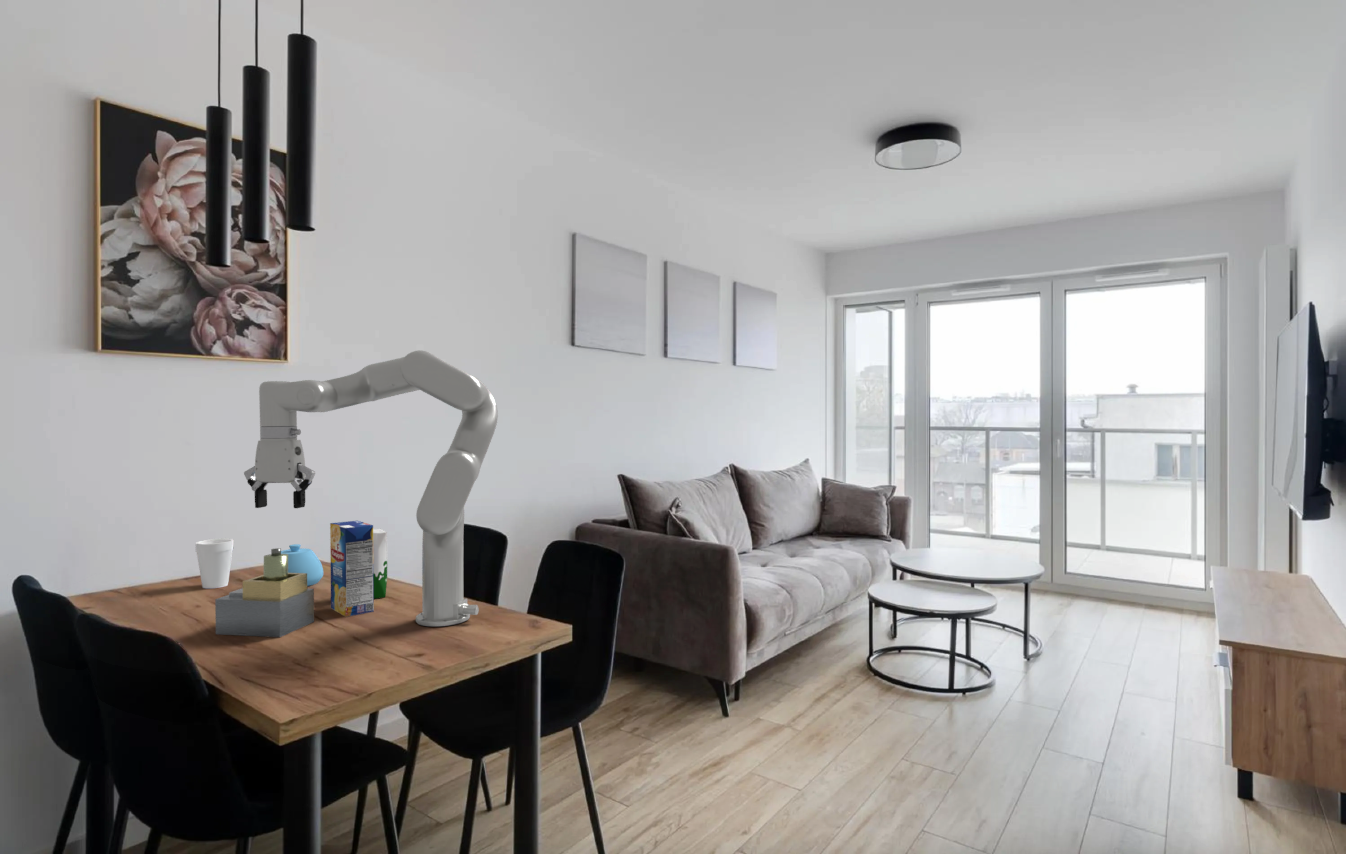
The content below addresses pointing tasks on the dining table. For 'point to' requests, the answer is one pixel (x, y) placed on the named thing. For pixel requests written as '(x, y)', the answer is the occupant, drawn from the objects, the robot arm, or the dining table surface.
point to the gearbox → (266, 607)
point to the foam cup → (214, 561)
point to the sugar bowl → (304, 563)
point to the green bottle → (275, 566)
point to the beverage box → (352, 567)
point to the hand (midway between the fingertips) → (280, 507)
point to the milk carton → (379, 563)
